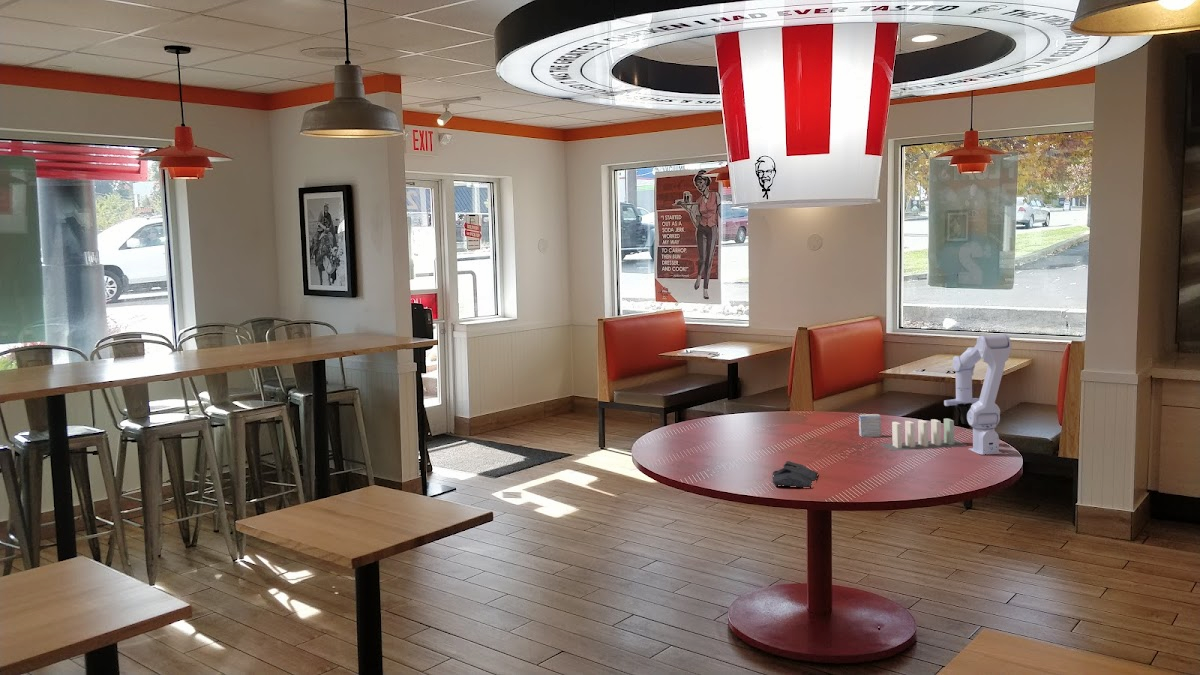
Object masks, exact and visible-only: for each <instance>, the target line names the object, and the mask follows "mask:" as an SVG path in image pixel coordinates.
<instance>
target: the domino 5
mask: <svg viewBox="0 0 1200 675" xmlns="http://www.w3.org/2000/svg"><path fill="white" fill-rule="evenodd" d="M943 440H944V442H945V443H947V444H949V445H954V440H955V420H953V419H951V418H943Z"/></svg>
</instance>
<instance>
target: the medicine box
mask: <svg viewBox="0 0 1200 675" xmlns="http://www.w3.org/2000/svg"><path fill="white" fill-rule="evenodd" d="M881 417H882V416H881V414H878V413H871V414H867V413H865V414H859V415H858V433H859V437H860V436H861V437H864V438H876V437H882V418H881ZM861 437H860V438H861Z"/></svg>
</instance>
